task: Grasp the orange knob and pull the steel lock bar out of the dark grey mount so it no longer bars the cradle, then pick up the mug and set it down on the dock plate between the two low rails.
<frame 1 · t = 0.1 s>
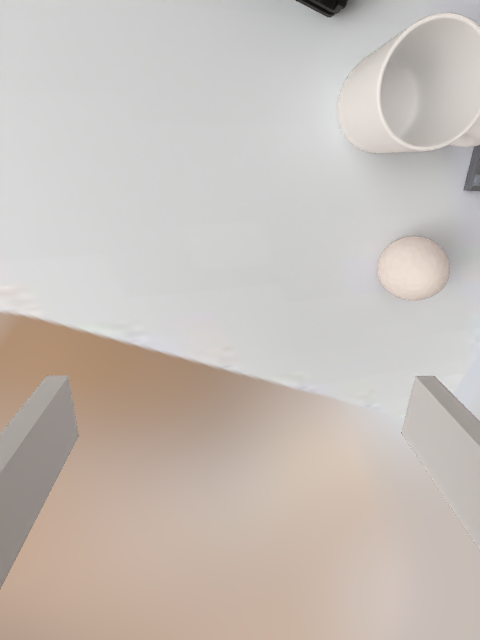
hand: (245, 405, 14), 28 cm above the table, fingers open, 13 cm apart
mug: (393, 115, 36), on the table
egg: (395, 259, 42), on the table
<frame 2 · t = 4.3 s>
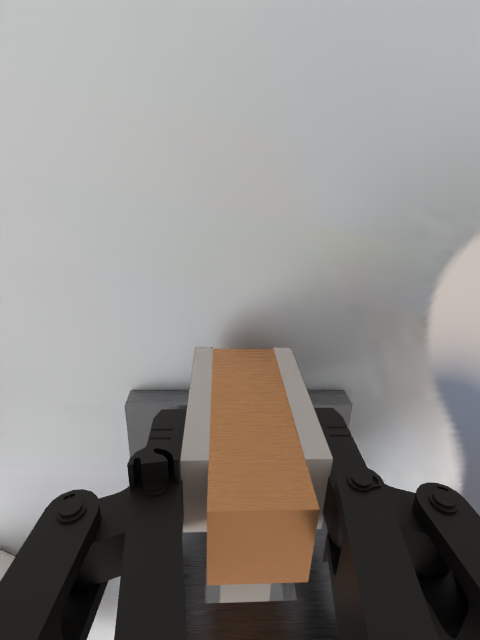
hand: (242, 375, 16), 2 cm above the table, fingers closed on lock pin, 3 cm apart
lock pin: (242, 555, 15), point 6 cm above the table, slide at 0.0 cm, touching gripper
dock: (234, 519, 22), on the table
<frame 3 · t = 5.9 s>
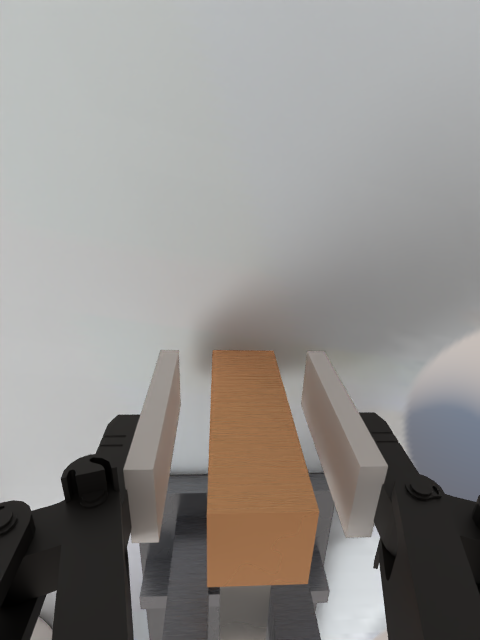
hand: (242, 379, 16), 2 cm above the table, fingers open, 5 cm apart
lock pin: (242, 557, 15), point 6 cm above the table, slide at 5.4 cm
mug: (28, 639, 26), on the table
dock: (232, 580, 24), on the table
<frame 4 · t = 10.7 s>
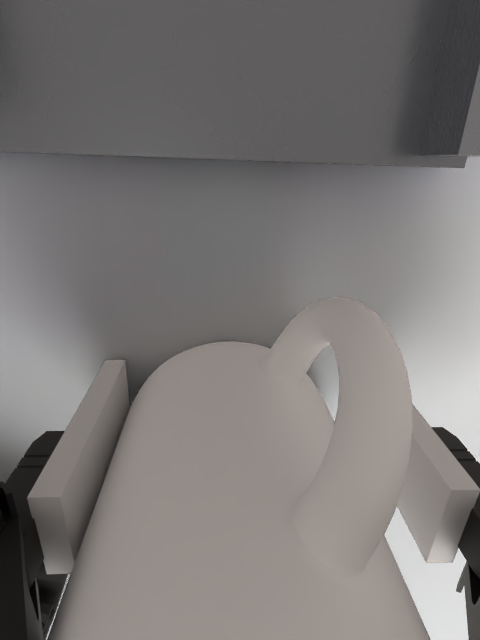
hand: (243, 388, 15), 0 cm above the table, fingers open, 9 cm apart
mug: (247, 383, 16), on the table, touching gripper
end cap: (1, 549, 19), on the table
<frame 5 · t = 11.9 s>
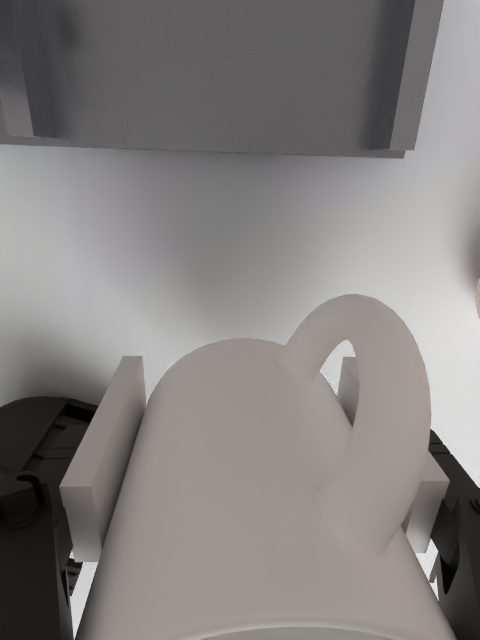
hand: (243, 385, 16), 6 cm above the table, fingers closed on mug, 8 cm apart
mug: (260, 380, 16), point 6 cm above the table, touching gripper
end cap: (66, 449, 25), on the table
dock: (121, 8, 16), on the table
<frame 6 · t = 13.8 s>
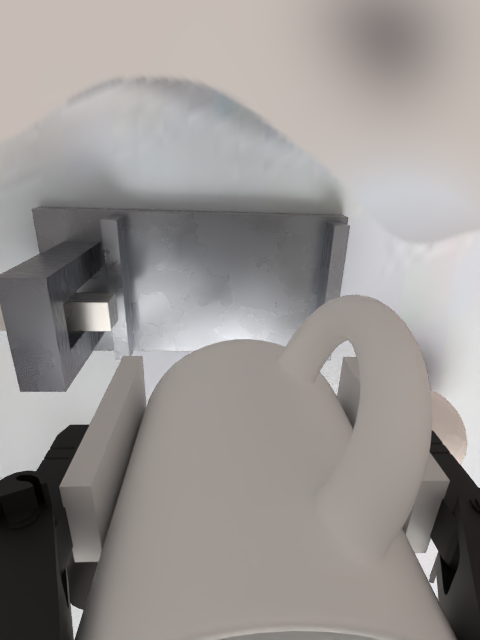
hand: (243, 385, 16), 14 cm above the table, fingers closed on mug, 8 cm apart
mug: (260, 380, 16), point 14 cm above the table, touching gripper
end cap: (122, 507, 38), on the table
dock: (173, 282, 29), on the table
egg: (397, 399, 34), on the table
when the fingers open (3 cm above the table, at t = 16.2 s): mug drops 1 cm, resting on dock.
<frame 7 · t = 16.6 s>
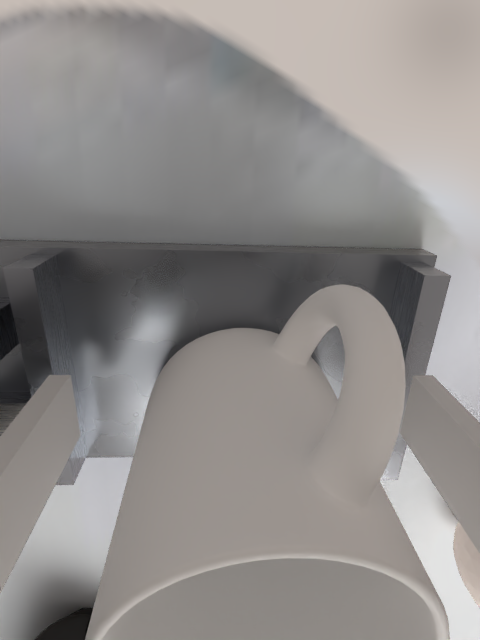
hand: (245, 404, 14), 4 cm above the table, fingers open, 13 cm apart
mug: (256, 366, 17), point 1 cm above the table, touching dock
dock: (146, 353, 18), on the table
egg: (478, 506, 24), on the table
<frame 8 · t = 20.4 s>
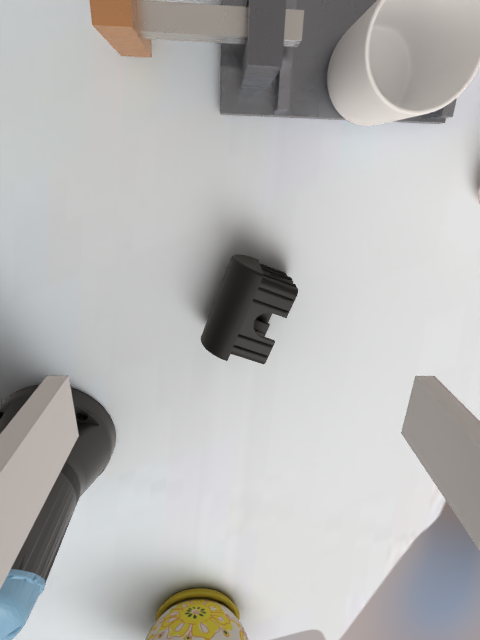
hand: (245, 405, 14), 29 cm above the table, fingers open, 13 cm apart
lock pin: (204, 26, 29), point 5 cm above the table, slide at 5.5 cm
mug: (379, 54, 34), point 1 cm above the table, touching dock
end cap: (244, 298, 44), on the table
flowerpot: (198, 608, 66), on the table
dock: (319, 53, 34), on the table
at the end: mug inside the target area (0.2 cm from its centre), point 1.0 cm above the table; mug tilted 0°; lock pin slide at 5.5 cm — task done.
